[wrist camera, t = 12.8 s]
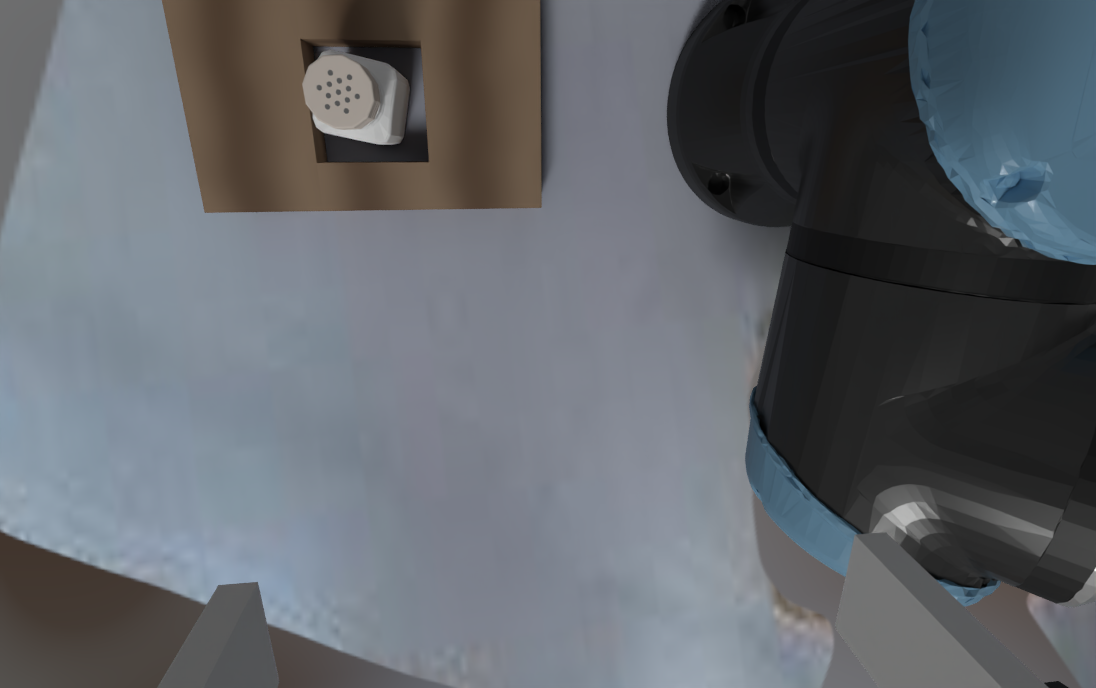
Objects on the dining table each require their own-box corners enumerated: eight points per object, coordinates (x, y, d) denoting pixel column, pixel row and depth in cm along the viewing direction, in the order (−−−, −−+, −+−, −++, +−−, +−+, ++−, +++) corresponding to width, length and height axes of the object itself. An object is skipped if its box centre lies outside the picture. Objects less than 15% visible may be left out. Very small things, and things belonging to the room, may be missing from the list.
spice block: (535, -2, 34) (539, -13, 31) (537, 203, 38) (541, 207, 35) (181, -11, 32) (157, -23, 29) (223, 208, 36) (204, 212, 33)
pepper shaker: (412, 79, 34) (388, 55, 25) (404, 146, 36) (378, 147, 27) (344, 63, 34) (295, 33, 25) (338, 132, 35) (289, 128, 26)
